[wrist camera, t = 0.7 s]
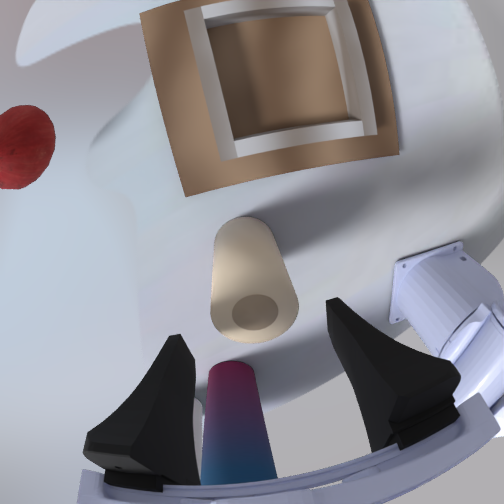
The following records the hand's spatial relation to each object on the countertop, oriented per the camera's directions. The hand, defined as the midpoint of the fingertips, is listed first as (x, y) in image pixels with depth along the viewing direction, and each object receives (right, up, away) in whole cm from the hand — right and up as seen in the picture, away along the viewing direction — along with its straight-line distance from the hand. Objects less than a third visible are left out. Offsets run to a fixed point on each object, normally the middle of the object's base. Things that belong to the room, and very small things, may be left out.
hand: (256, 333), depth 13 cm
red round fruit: (-16, +13, +3) cm, 21 cm away
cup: (-2, -10, +15) cm, 18 cm away
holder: (+2, +16, +3) cm, 16 cm away
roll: (-1, +4, +8) cm, 9 cm away
